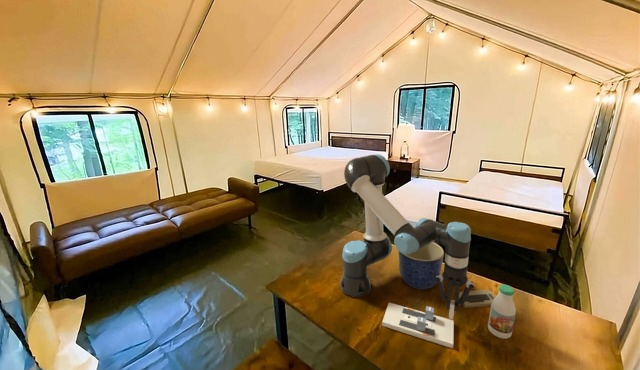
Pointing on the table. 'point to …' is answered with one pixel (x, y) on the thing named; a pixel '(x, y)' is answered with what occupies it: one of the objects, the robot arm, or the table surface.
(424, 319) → the tab near
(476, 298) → the computer
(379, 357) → the table surface
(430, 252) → the planter
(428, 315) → the tab far
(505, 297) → the milk bottle
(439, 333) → the switch board
